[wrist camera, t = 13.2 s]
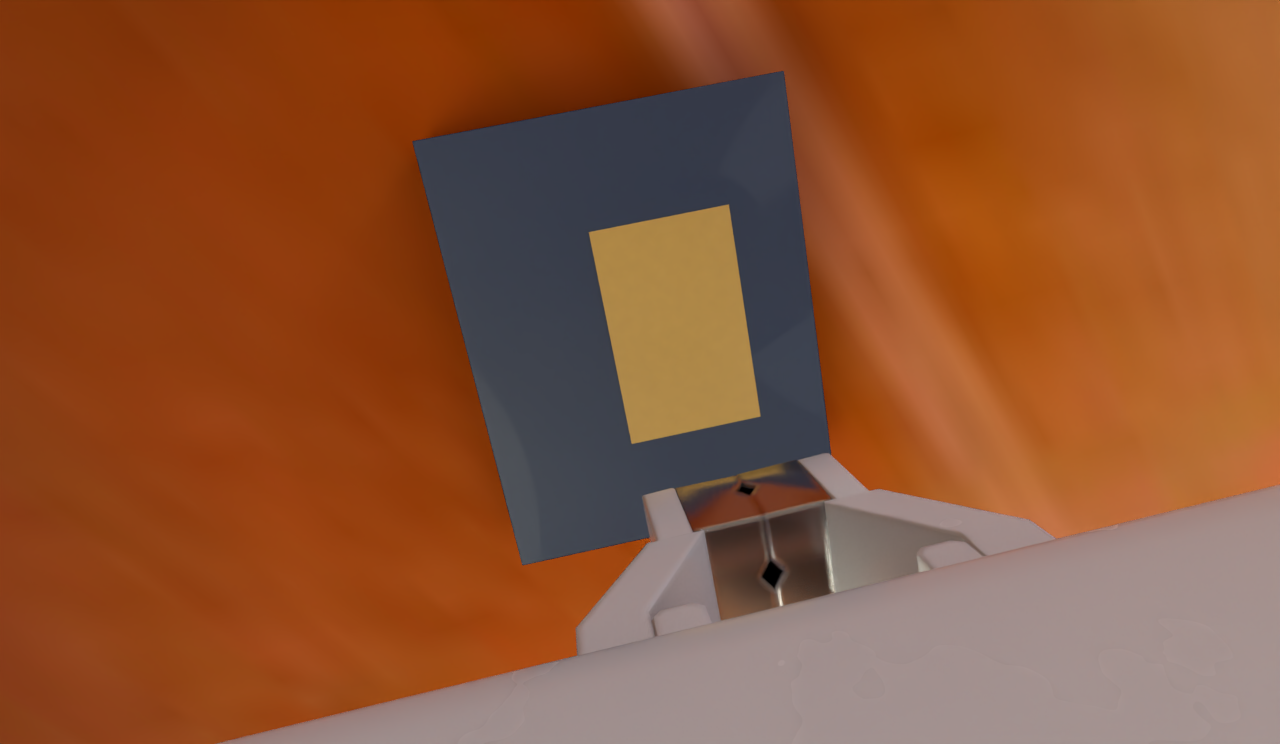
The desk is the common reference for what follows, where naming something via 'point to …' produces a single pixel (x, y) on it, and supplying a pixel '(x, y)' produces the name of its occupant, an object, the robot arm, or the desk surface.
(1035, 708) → the robot arm
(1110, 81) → the desk surface
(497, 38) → the desk surface
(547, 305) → the book cover
